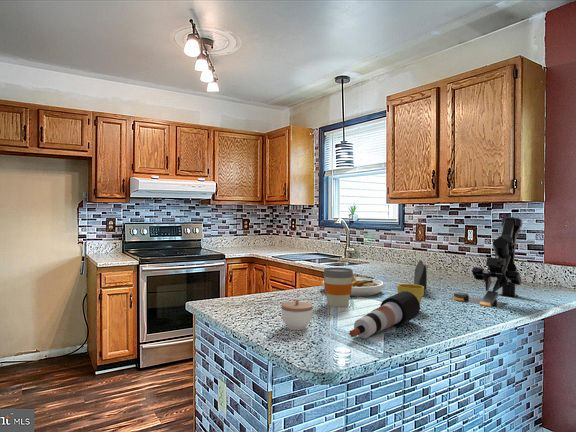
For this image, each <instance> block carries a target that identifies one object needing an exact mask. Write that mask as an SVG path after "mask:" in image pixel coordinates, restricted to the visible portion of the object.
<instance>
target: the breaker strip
mask: <svg viewBox="0 0 576 432" xmlns="http://www.w3.org/2000/svg"><path fill="white" fill-rule="evenodd" d="M482 299H483V298H477V297H472V296H471V297H470V295H469V293H467V292H466V293H465V292H458V291H457V292H454V293H453V296H452V297H449V298H447V300H453V301H458V302H459V301H460V302H464V303H470V304H477V305H480V304H479V303H480V302H481V301H482ZM508 305H509V303H508V302H502V301H498V299H496V300H495V302H494V303H493V305H492V306H491V308H492V307H493V308H498V309H499V308H501V307H502V308H503V307H505V306H508Z"/></svg>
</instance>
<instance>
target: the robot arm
mask: <svg viewBox="0 0 576 432" xmlns="http://www.w3.org/2000/svg"><path fill="white" fill-rule="evenodd" d="M501 227H502V231H501V235H500V236H498V237H497V238H496V239H494V240H493V241H492V249H493V251H494V255H495V257H489V256H488V257H486V261H485V266H487V269H484V268H483V267H473V268H472V269H471V273H472V275H473V278H474V279H475V280H476V281H477V280H478V281H484V283H485V291H486V292H488V291H490V287H491V285H492V283H493V281H492V279H491V278H493V279H496V281H495V284H494V286H493V288H492V291H493V292H498V290H499V289H501V293H498V296H502V297H509V298H515V297H517V296H519V294H516V285H517V286H520V285H521V284H522V277H521V275H520V272H519V271H518V268H517V266H516V264H515V258H516V257H515V256H516V247H517V246H516V244H517V243H516V242H517V241H516V240H517V236H518V234H519V233H521V228H523V220H522V219H521V218H519V217H512V216H511V217H508V216H506V217H503V218H501Z"/></svg>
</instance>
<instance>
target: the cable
mask: <svg viewBox="0 0 576 432" xmlns="http://www.w3.org/2000/svg"><path fill="white" fill-rule="evenodd" d="M420 311H421V303H420V304H419V301H418V299H417V298H416V296H415V295H413V294H412V293H410V292H408V291H402V292H400V293H398V292H397V293H396V294H393V295H391V296H389V297H387V298H385V299H384V300H382V301H381V303H380V306H379V307H377V308H374V309H373V310H372V311H370V312H369V313H366V314H365V315H364V316H361V317H360V318H358V319H356V320H355V321H354V324H353V328H352V329H350V330H349V333H348V335H349V336H350V337H351V338H354V337H357V336H358V337H359V338H363V339H367V338H369V337H371V336H373V335H375V334H377V333H379V332H381V331H384V330H386V329H388V328H389V327H395V328H397V327H401V326H403V325H405V324H407V323H408V322H410V321H411V320H413V319H415V318H416V317H418V315H419V313H420Z"/></svg>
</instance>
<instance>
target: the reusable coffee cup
mask: <svg viewBox="0 0 576 432" xmlns="http://www.w3.org/2000/svg"><path fill="white" fill-rule="evenodd" d="M353 276H354V273H353V269H352V268H348V267H326V268H324V269H323V277H324V278H325V282H324V286H325V289H324V293H325V295H326V304H327V305H328V306H329V307H335V308H345V307H349V305H350V303H349V302H350V297H351V296H350V294H351V290H352V277H353ZM324 278H323V279H324Z"/></svg>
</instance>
